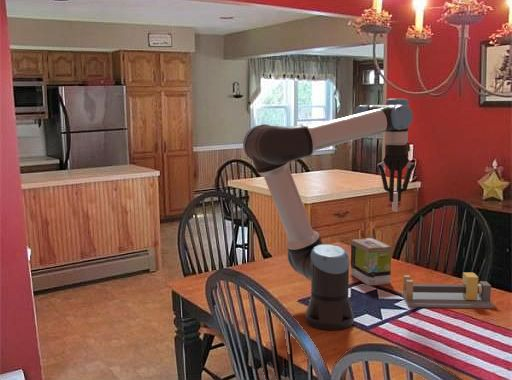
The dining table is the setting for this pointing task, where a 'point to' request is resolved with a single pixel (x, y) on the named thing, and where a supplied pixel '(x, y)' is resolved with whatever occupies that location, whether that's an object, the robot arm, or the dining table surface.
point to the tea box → (371, 261)
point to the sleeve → (470, 286)
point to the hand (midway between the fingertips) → (394, 210)
